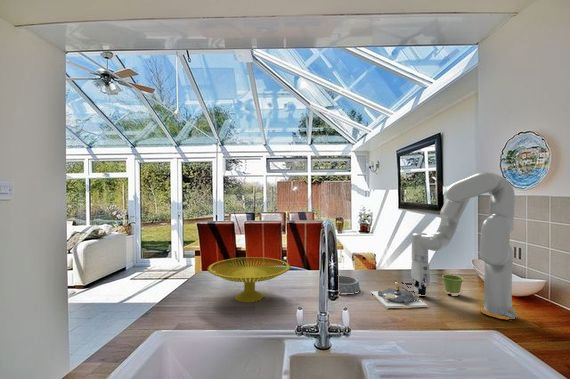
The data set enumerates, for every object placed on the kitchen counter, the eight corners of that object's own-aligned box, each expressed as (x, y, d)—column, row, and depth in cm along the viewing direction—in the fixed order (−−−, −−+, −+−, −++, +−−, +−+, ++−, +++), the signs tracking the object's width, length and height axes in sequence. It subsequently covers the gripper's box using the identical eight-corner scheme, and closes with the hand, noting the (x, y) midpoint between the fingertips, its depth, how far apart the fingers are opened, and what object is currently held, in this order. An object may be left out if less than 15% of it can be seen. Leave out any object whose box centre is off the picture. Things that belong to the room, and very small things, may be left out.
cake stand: (234, 322, 118) (234, 284, 118) (192, 294, 149) (193, 264, 149) (308, 299, 144) (308, 267, 144) (260, 279, 175) (260, 253, 175)
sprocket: (416, 293, 148) (416, 282, 148) (419, 306, 132) (419, 293, 132) (378, 289, 154) (378, 278, 154) (377, 300, 138) (377, 288, 138)
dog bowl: (340, 282, 171) (340, 272, 171) (367, 290, 157) (367, 280, 157) (318, 288, 161) (318, 278, 161) (345, 298, 146) (345, 287, 146)
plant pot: (457, 291, 155) (458, 275, 155) (467, 298, 146) (467, 280, 146) (438, 291, 156) (438, 274, 156) (446, 297, 147) (446, 279, 147)
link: (425, 296, 148) (425, 288, 148) (417, 296, 147) (418, 288, 147) (421, 294, 152) (421, 286, 152) (413, 294, 151) (413, 285, 151)
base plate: (427, 307, 134) (427, 305, 134) (386, 308, 132) (386, 306, 132) (407, 293, 153) (407, 290, 153) (370, 293, 151) (370, 291, 151)
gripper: (436, 261, 141) (436, 301, 141) (418, 254, 158) (418, 289, 158) (421, 262, 141) (421, 301, 141) (404, 254, 157) (404, 289, 157)
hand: (419, 294), depth 149 cm, fingers closed on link, 4 cm apart
